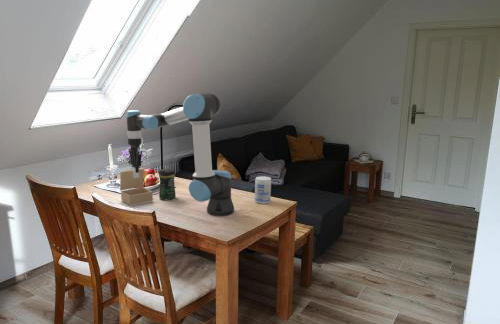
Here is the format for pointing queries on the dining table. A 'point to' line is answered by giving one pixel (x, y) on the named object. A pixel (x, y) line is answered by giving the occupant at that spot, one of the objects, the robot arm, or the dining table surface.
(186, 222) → the dining table surface
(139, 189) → the mailer box
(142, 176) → the lid
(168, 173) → the coffee jar
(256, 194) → the supplement tub
